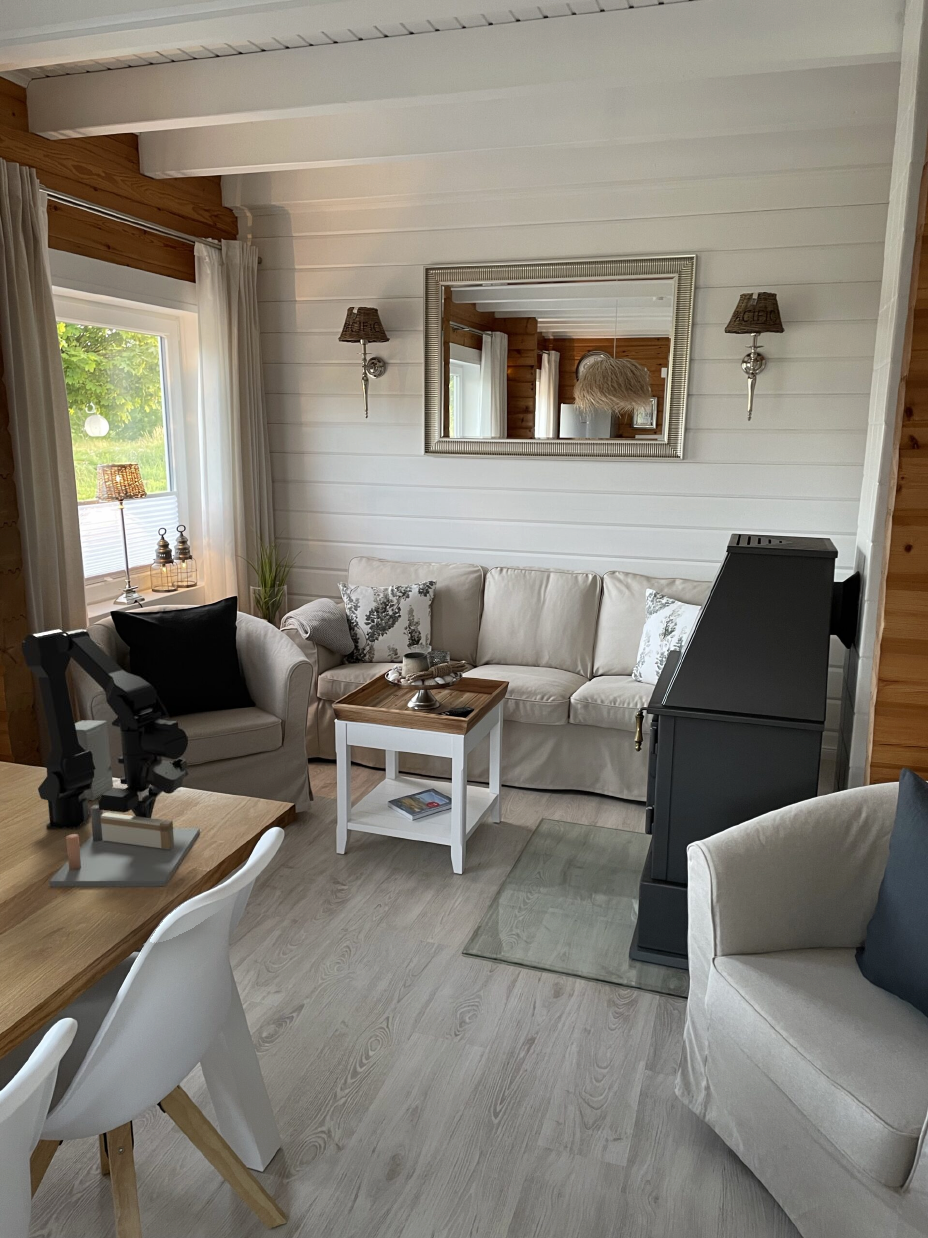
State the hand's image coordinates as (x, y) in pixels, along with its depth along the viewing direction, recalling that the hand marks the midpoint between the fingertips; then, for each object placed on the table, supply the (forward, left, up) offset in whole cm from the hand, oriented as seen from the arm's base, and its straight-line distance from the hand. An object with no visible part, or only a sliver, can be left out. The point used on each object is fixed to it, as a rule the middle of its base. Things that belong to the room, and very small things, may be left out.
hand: (146, 827), depth 174 cm
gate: (-1, -2, -2) cm, 3 cm away
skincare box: (-21, +26, -4) cm, 34 cm away
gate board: (-1, -6, -4) cm, 7 cm away
